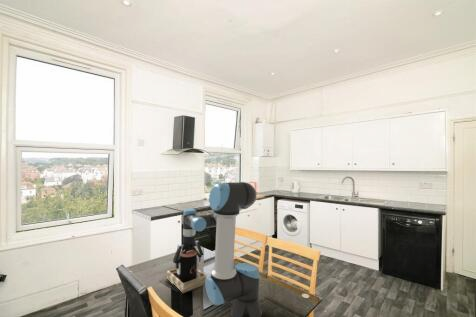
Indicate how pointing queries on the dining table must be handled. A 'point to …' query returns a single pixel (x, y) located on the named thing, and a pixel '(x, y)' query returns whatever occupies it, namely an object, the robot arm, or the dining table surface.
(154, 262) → the dining table surface
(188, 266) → the coffee jar
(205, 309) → the dining table surface
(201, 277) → the walled box
